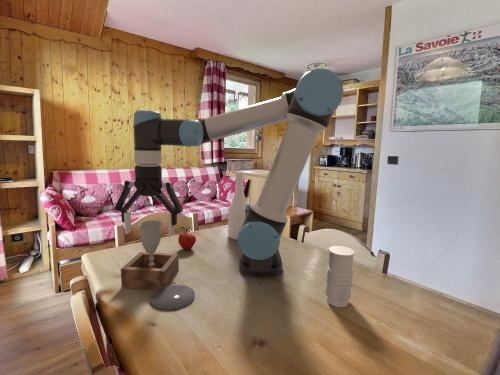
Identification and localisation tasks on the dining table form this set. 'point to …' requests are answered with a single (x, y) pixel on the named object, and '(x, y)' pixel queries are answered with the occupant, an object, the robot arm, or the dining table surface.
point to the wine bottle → (237, 208)
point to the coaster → (172, 297)
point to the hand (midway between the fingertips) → (149, 233)
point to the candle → (339, 275)
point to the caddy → (149, 271)
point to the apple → (186, 240)
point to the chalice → (150, 237)
